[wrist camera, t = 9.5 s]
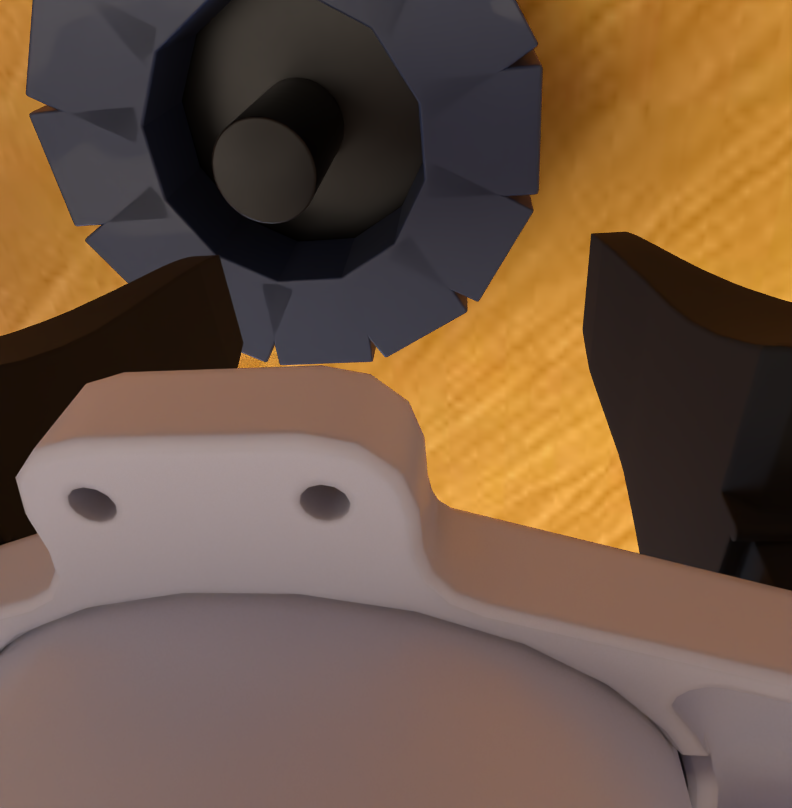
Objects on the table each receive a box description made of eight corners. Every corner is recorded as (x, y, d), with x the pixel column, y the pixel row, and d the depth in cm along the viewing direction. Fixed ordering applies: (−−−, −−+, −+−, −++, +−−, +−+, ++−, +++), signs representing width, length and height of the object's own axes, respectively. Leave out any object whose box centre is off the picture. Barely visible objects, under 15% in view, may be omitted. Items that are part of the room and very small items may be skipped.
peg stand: (294, 293, 24) (254, 381, 20) (106, 73, 20) (1, 120, 15) (506, 155, 20) (517, 224, 16) (330, -148, 16) (278, -172, 12)
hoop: (288, 375, 25) (269, 424, 23) (-7, 64, 19) (-75, 85, 17) (610, 183, 19) (630, 220, 17) (339, -337, 14) (313, -391, 11)
